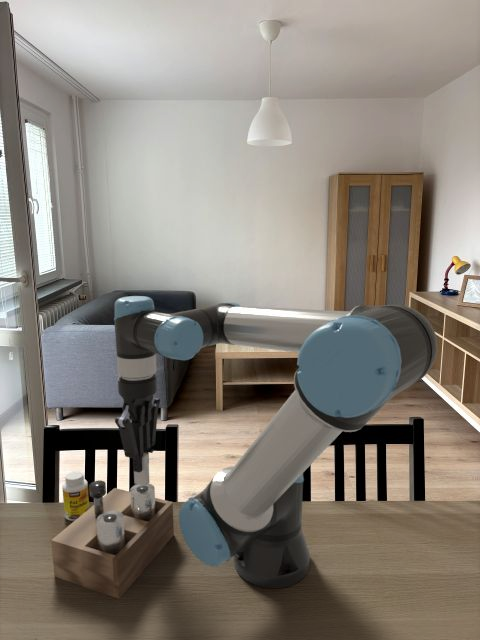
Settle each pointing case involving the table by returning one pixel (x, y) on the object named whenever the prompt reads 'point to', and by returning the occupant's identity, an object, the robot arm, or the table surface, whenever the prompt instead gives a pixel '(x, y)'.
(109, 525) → the knob near
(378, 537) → the table surface
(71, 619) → the table surface
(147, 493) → the knob far
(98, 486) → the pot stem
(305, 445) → the robot arm
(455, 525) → the table surface
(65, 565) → the wooden box
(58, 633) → the table surface
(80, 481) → the supplement bottle
